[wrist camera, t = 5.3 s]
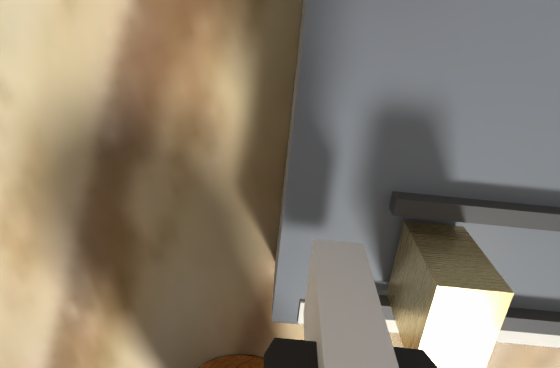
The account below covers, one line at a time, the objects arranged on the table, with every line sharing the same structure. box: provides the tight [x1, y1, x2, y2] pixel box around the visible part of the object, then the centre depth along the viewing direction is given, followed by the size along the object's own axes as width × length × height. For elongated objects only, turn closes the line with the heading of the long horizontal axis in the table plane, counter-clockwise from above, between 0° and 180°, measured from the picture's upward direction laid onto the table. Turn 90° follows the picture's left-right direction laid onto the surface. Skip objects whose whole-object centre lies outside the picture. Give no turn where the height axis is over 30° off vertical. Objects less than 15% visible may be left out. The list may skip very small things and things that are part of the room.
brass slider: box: [387, 221, 514, 368], centre depth 13 cm, size 2×3×4 cm, turn 175°
